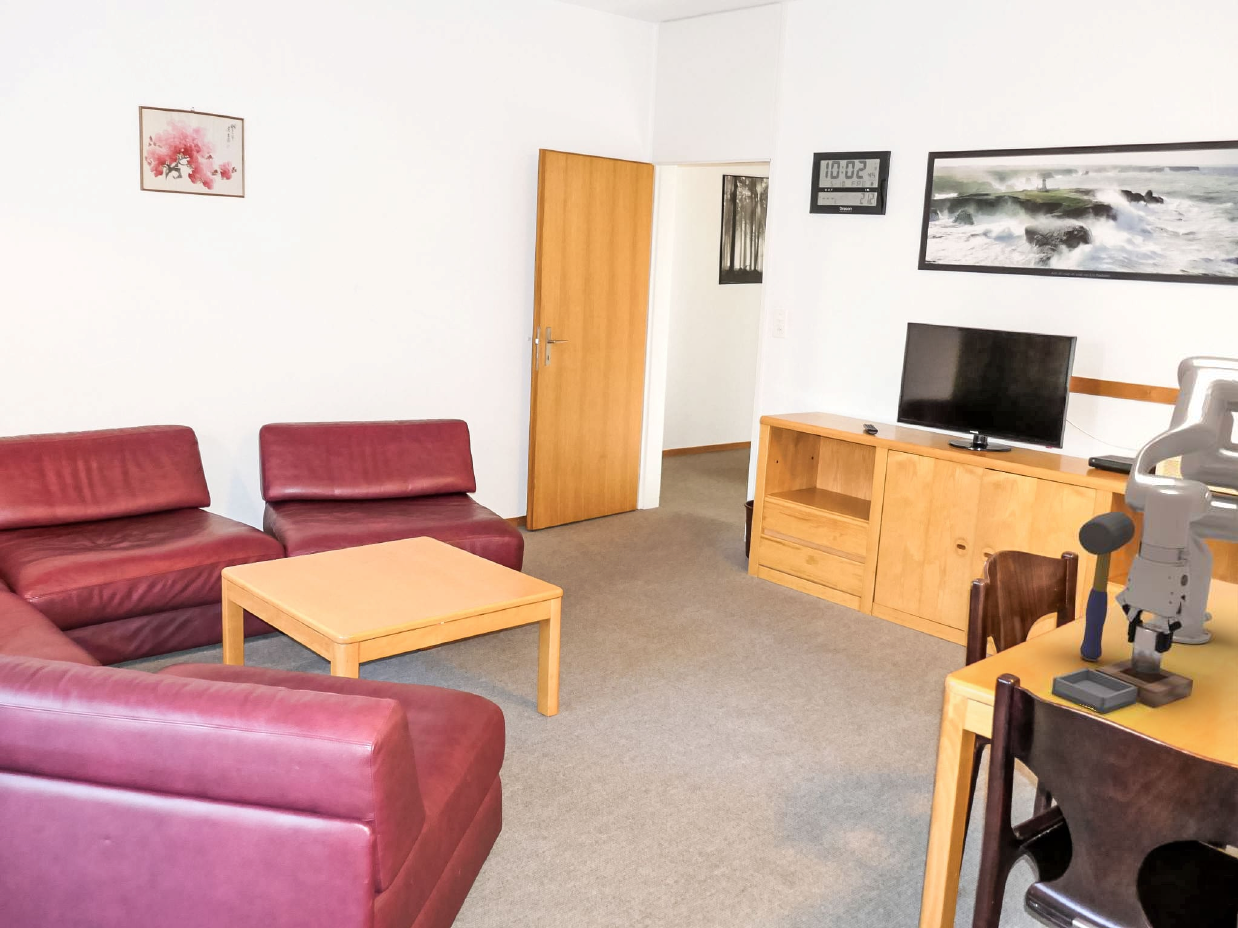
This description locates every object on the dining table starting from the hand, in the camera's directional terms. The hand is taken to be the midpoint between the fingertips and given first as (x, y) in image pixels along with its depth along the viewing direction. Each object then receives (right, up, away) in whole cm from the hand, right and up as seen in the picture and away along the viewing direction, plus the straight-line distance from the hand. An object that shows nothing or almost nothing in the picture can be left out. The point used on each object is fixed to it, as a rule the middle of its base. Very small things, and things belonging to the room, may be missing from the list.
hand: (1148, 645), depth 197 cm
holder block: (-1, -8, +1) cm, 9 cm away
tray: (-12, -9, -3) cm, 15 cm away
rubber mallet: (-4, -6, +16) cm, 17 cm away
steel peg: (0, -4, +1) cm, 5 cm away
